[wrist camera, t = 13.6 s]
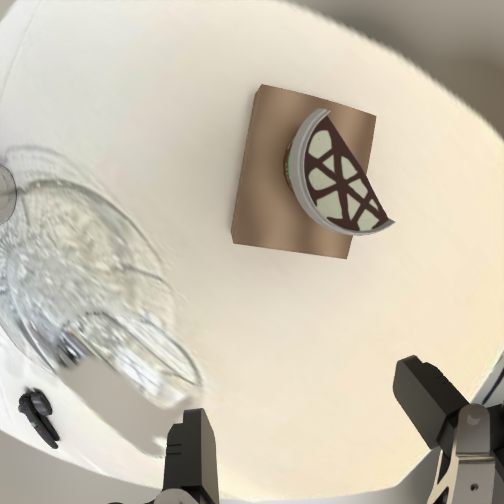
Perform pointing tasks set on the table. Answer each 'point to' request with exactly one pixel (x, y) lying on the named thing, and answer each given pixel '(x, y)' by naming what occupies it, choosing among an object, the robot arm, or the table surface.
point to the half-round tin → (331, 180)
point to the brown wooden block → (273, 180)
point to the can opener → (39, 416)
